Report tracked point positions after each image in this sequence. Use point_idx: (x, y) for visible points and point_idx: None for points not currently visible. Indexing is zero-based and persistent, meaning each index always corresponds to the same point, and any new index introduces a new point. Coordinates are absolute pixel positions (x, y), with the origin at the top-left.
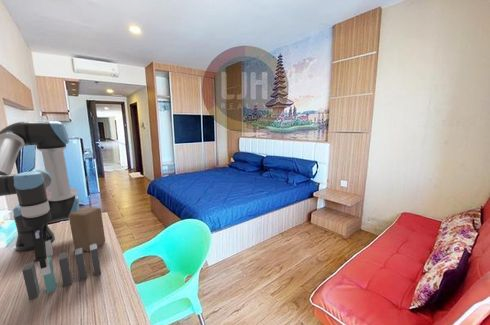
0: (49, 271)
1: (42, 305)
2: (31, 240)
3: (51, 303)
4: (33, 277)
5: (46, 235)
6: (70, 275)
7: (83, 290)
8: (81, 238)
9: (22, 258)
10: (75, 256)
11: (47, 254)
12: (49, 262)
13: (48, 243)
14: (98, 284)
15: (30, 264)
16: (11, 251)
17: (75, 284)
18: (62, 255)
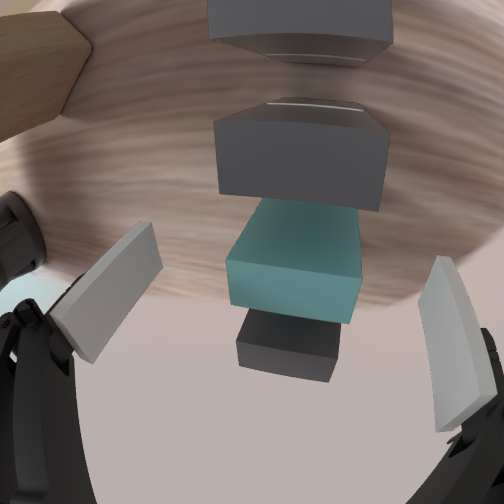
0: (455, 273)
1: (423, 222)
2: (19, 251)
3: (440, 196)
4: None
5: (47, 424)
6: (336, 103)
7: (453, 75)
8: (20, 92)
9: (69, 256)
10: (388, 44)
11: (151, 259)
12: (351, 279)
13: (85, 312)
14: (450, 15)
15: (269, 355)
16: (46, 270)
17: (373, 88)
18: (283, 167)
